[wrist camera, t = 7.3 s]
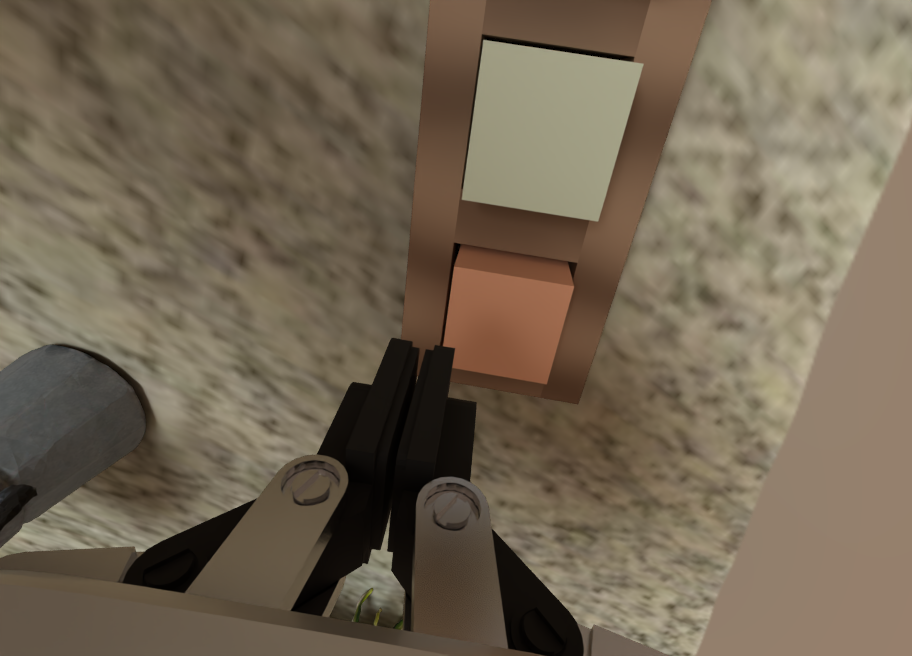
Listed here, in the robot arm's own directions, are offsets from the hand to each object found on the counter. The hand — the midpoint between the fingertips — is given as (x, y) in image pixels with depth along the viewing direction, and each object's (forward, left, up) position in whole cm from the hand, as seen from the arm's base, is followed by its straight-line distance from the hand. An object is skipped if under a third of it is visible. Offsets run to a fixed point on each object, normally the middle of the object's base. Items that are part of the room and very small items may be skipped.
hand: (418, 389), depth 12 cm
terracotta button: (+1, -3, -12) cm, 13 cm away
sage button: (+5, +4, -11) cm, 13 cm away
